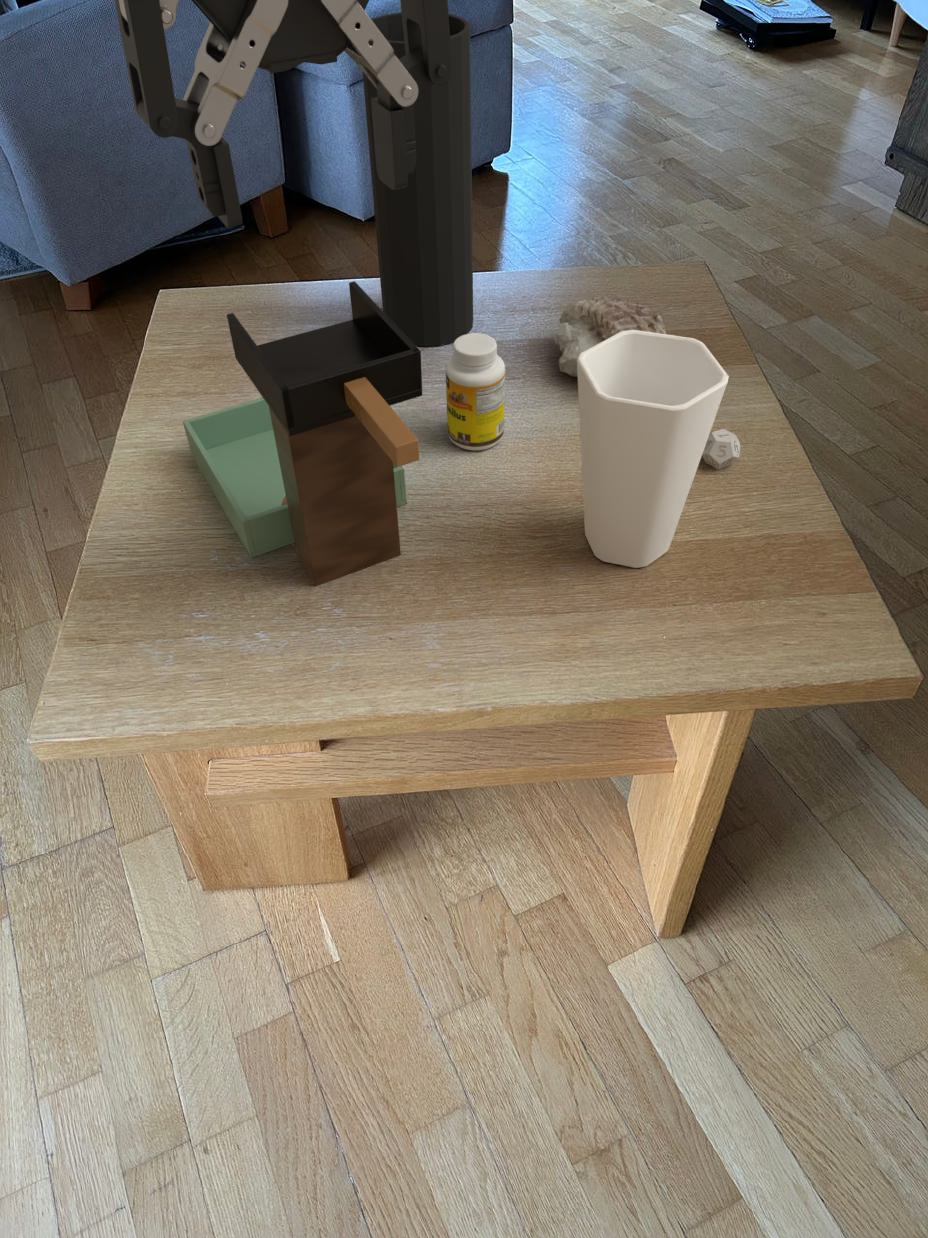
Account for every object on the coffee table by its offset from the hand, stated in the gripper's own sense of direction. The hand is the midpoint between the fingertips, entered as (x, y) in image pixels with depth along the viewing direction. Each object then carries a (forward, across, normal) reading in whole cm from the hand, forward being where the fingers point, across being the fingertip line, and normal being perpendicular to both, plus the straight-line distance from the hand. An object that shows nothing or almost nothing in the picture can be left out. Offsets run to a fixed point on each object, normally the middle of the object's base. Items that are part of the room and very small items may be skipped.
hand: (313, 201), depth 46 cm
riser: (+36, +4, +14) cm, 39 cm away
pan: (+18, +4, +10) cm, 21 cm away
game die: (+36, +40, +9) cm, 55 cm away
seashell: (+36, +40, +28) cm, 61 cm away
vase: (+36, +28, +46) cm, 65 cm away
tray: (+36, +4, +26) cm, 45 cm away
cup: (+36, +26, +4) cm, 45 cm away
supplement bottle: (+36, +22, +24) cm, 49 cm away
